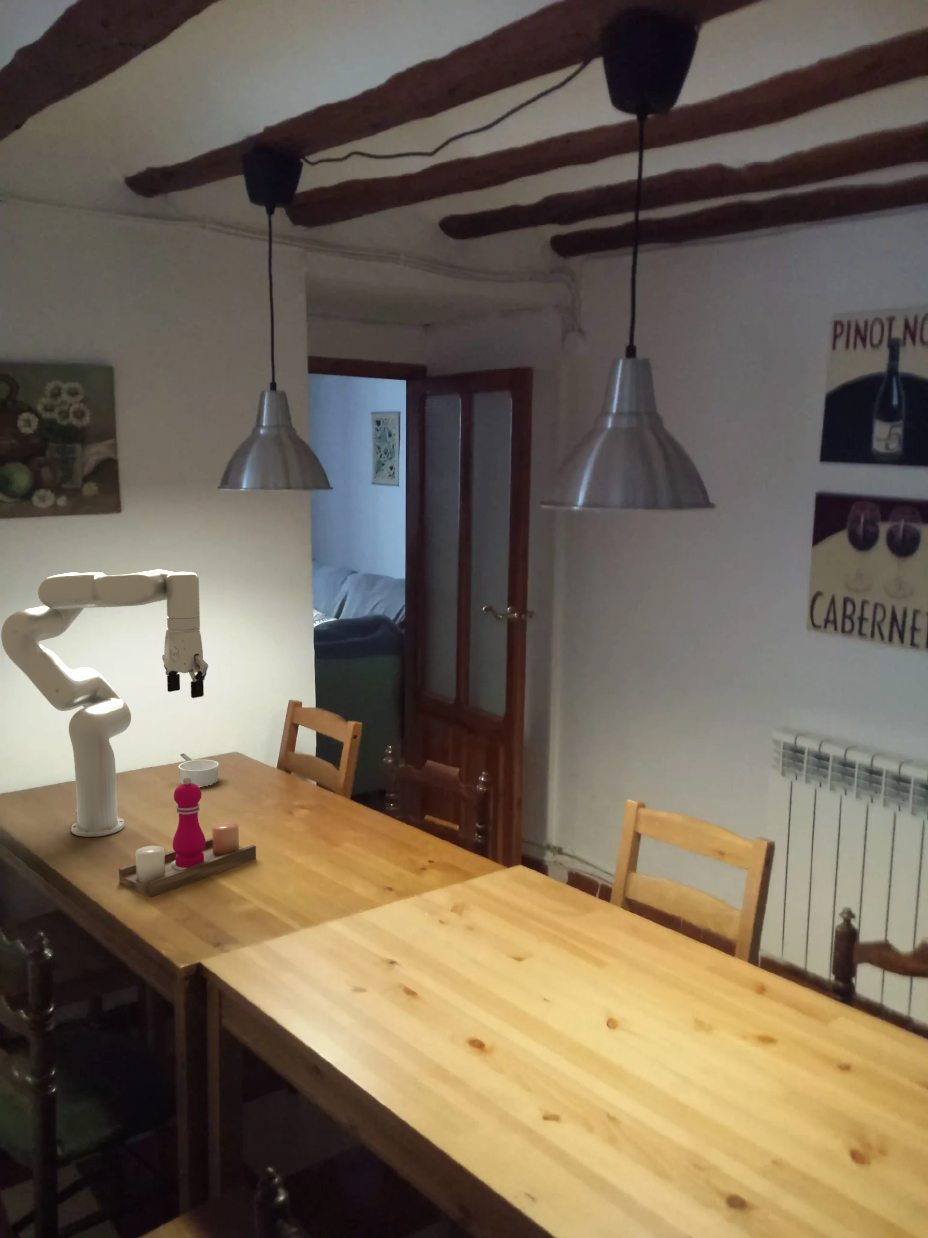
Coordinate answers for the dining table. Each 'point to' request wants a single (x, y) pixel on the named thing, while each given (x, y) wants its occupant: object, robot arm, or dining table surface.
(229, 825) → the pink pillar candle
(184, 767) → the saucepan
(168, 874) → the rail
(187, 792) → the pepper mill
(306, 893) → the dining table surface
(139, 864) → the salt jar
